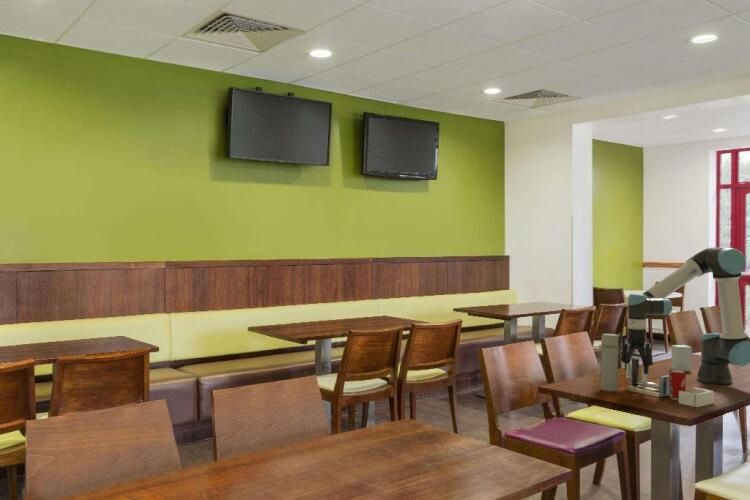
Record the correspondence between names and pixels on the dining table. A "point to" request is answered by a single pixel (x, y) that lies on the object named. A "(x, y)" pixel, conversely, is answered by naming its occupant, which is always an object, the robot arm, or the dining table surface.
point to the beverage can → (676, 383)
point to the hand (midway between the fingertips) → (636, 379)
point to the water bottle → (609, 362)
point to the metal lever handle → (636, 382)
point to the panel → (644, 390)
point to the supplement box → (681, 357)
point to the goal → (696, 397)
